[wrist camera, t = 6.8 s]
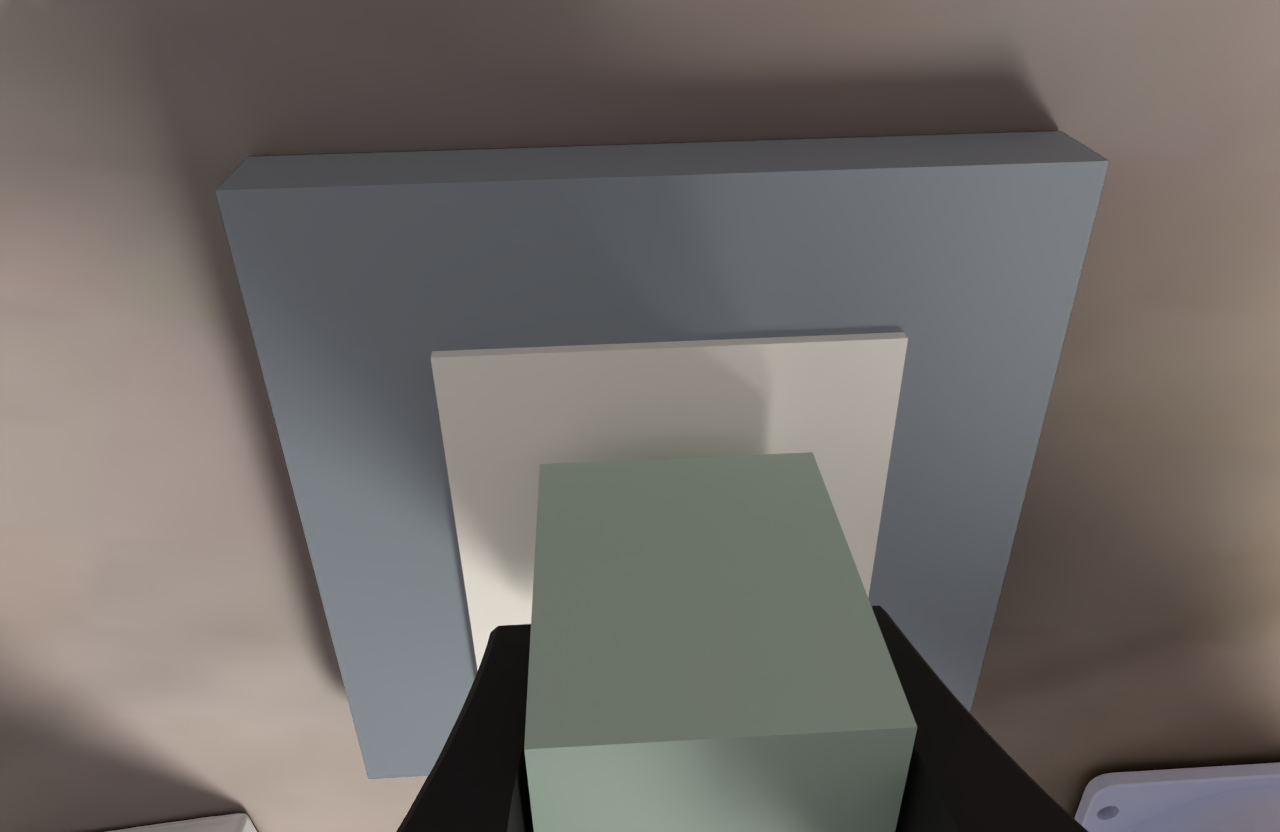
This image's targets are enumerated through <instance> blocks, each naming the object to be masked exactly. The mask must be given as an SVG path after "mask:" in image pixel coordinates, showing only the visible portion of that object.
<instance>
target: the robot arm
mask: <svg viewBox="0 0 1280 832" xmlns="http://www.w3.org/2000/svg"><path fill="white" fill-rule="evenodd" d="M871 607H872V609H873V612H874V615H875V617H876V620H877V622H878V625H879V628H880V630H881V633H882V636H883V638H884V641H885V643H886V646H887V649H888V651H889V654H890V657H891V659H892V662H893V664H894V667H895V670H896V672H897V675H898V678H899V680H900V683H901V685H902V688H903V691H904V693H905V696H906V699H907V701H908V704H909V706H910V709H911V712H912V714H913V717H914V720H915V722H916V725H917V731H916V736H915V741H914V746H913V750H912V755H911V760H910V764H909V769H908V774H907V778H906V783H905V788H904V792H903V797H902V802H901V806H900V811H899V816H898V820H897V825H896V830H895V832H1280V762H1277V763H1261V764H1244V765H1228V766H1212V767H1196V768H1179V769H1163V770H1147V771H1131V772H1115V773H1106V774H1101V775H1099V776H1097V777H1095V778H1094V779H1092V780H1091V781H1090V782H1089V783H1088V785H1087V786H1086V788H1085V791H1084V793H1083V796H1082V799H1081V801H1080V804H1079V807H1078V810H1077V812H1076V815H1075V818H1073V817H1072V816H1070V815H1069V814H1068V813H1067V812H1066V811H1065V810H1064V809H1063V808H1062V807H1061V806H1060V805H1059V804H1058V803H1057V802H1055V801H1054V800H1053V799H1052V798H1051V797H1050V796H1049V795H1048V794H1047V793H1046V792H1045V791H1044V790H1043V789H1042V788H1041V787H1040V786H1039V785H1038V784H1037V783H1036V782H1035V781H1034V780H1033V779H1032V778H1031V777H1030V776H1029V775H1028V774H1027V773H1026V772H1025V771H1024V770H1023V769H1022V768H1021V767H1020V766H1019V765H1018V764H1017V763H1016V762H1015V761H1014V760H1013V759H1012V758H1011V757H1010V756H1009V755H1008V754H1007V753H1006V752H1005V751H1004V750H1003V749H1002V748H1001V747H1000V745H999V744H998V743H997V742H996V741H995V740H994V739H993V738H992V737H991V736H990V735H989V734H988V733H987V732H986V730H985V729H984V728H983V727H982V726H981V725H980V724H979V723H978V721H977V720H976V719H975V718H974V717H973V716H972V715H971V714H970V713H969V711H968V710H967V709H966V708H965V707H964V706H963V705H962V704H961V703H960V701H959V700H958V699H957V698H956V697H955V696H954V695H953V693H952V692H951V691H950V690H949V689H948V688H947V686H946V685H945V684H944V683H943V682H942V680H941V679H940V678H939V677H938V676H937V674H936V673H935V672H934V671H933V670H932V668H931V667H930V666H929V665H928V664H927V662H926V661H925V660H924V659H923V657H922V656H921V655H920V654H919V653H918V651H917V650H916V649H915V648H914V646H913V645H912V644H911V643H910V641H909V640H908V639H907V637H906V636H905V635H904V634H903V632H902V631H901V630H900V629H899V627H898V626H897V625H896V623H895V622H894V621H893V620H892V618H891V617H890V616H889V614H888V613H887V612H886V611H885V610H884V609H883V608H882V607H881V606H880V605H879V606H871ZM530 634H531V624H521V625H503V626H497V627H496V628H495V629H494V630H493V631H492V632H490V636H489V639H488V643H487V646H486V649H485V652H484V655H483V658H482V661H481V664H480V666H479V669H478V672H477V674H476V677H475V679H474V682H473V684H472V687H471V689H470V691H469V694H468V696H467V698H466V700H465V703H464V705H463V707H462V710H461V712H460V714H459V716H458V718H457V720H456V722H455V724H454V726H453V728H452V730H451V733H450V735H449V737H448V739H447V741H446V743H445V745H444V747H443V749H442V751H441V753H440V755H439V757H438V759H437V761H436V763H435V765H434V767H433V769H432V770H431V772H430V774H429V776H428V777H427V779H426V781H425V783H424V785H423V786H422V788H421V790H420V792H419V794H418V795H417V797H416V799H415V801H414V803H413V804H412V806H411V808H410V810H409V812H408V813H407V815H406V817H405V818H404V820H403V822H402V823H401V825H400V827H399V828H398V830H397V832H534V829H533V821H532V812H531V804H530V795H529V787H528V778H527V770H526V761H525V753H524V743H525V725H526V706H527V688H528V670H529V652H530Z"/></svg>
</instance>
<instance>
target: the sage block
mask: <svg viewBox="0 0 1280 832" xmlns="http://www.w3.org/2000/svg"><path fill="white" fill-rule="evenodd" d="M916 731H917V725H916V722H915V720H914V717H913V714H912V712H911V709H910V706H909V704H908V701H907V699H906V696H905V693H904V691H903V688H902V685H901V683H900V680H899V678H898V675H897V672H896V670H895V667H894V664H893V662H892V659H891V657H890V654H889V651H888V649H887V646H886V643H885V641H884V638H883V636H882V633H881V630H880V628H879V625H878V622H877V620H876V617H875V615H874V612H873V609H872V607H871V604H870V601H869V599H868V596H867V594H866V591H865V588H864V586H863V583H862V580H861V578H860V575H859V573H858V570H857V567H856V565H855V562H854V559H853V557H852V554H851V552H850V549H849V546H848V544H847V541H846V538H845V536H844V533H843V531H842V528H841V525H840V523H839V520H838V517H837V515H836V512H835V510H834V507H833V504H832V502H831V499H830V496H829V494H828V491H827V489H826V486H825V483H824V481H823V478H822V475H821V473H820V470H819V468H818V465H817V462H816V460H815V457H814V454H813V452H807V453H784V454H761V455H739V456H716V457H693V458H670V459H647V460H624V461H601V462H579V463H556V464H540V470H539V488H538V506H537V524H536V543H535V561H534V579H533V597H532V615H531V634H530V652H529V670H528V688H527V706H526V725H525V743H524V753H525V761H526V770H527V778H528V787H529V795H530V804H531V812H532V821H533V829H534V832H895V830H896V825H897V820H898V816H899V811H900V806H901V802H902V797H903V792H904V788H905V783H906V778H907V774H908V769H909V764H910V760H911V755H912V750H913V746H914V741H915V736H916Z"/></svg>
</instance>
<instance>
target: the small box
mask: <svg viewBox="0 0 1280 832" xmlns="http://www.w3.org/2000/svg"><path fill="white" fill-rule="evenodd" d="M106 832H257V831H256V829H255V827H254V826H253V824H252V822H251V820H250V818H249V817H248V816H247V815H246V814H241V813H237V814H229V815H222V816H212V817H204V818H197V819H191V820H184V821H177V822H169V823H161V824H155V825H148V826H141V827H134V828H128V829H121V830H114V831H106Z"/></svg>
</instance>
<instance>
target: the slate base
mask: <svg viewBox="0 0 1280 832" xmlns="http://www.w3.org/2000/svg"><path fill="white" fill-rule="evenodd" d="M1108 164H1109V160H1107V159H1105V158H1104V157H1102V156H1101V155H1099V154H1097V153H1096V152H1094V151H1093V150H1091V149H1089V148H1088V147H1086V146H1085V145H1083V144H1081V143H1080V142H1078V141H1077V140H1075V139H1073V138H1072V137H1070V136H1069V135H1067V134H1065V133H1064V132H1062V131H1042V132H1010V133H979V134H947V135H916V136H884V137H853V138H821V139H790V140H758V141H727V142H695V143H664V144H632V145H601V146H569V147H538V148H506V149H475V150H443V151H412V152H380V153H349V154H317V155H286V156H254V157H248V158H247V159H246V160H245V161H244V162H243V163H242V164H241V165H240V166H239V167H238V168H237V169H236V170H235V171H234V172H233V173H232V174H231V175H230V176H229V177H228V178H227V179H226V180H225V181H224V182H223V183H222V184H221V185H220V186H219V187H218V188H217V189H216V190H215V193H216V196H217V200H218V204H219V208H220V212H221V216H222V219H223V223H224V227H225V231H226V235H227V239H228V242H229V246H230V250H231V254H232V258H233V262H234V266H235V269H236V273H237V277H238V281H239V285H240V289H241V292H242V296H243V300H244V304H245V308H246V312H247V315H248V319H249V323H250V327H251V331H252V335H253V338H254V342H255V346H256V350H257V354H258V358H259V361H260V365H261V369H262V373H263V377H264V381H265V384H266V388H267V392H268V396H269V400H270V404H271V407H272V411H273V415H274V419H275V423H276V427H277V430H278V434H279V438H280V442H281V446H282V450H283V453H284V457H285V461H286V465H287V469H288V473H289V476H290V480H291V484H292V488H293V492H294V496H295V499H296V503H297V507H298V511H299V515H300V519H301V522H302V526H303V530H304V534H305V538H306V542H307V545H308V549H309V553H310V557H311V561H312V565H313V569H314V572H315V576H316V580H317V584H318V588H319V592H320V595H321V599H322V603H323V607H324V611H325V615H326V618H327V622H328V626H329V630H330V634H331V638H332V641H333V645H334V649H335V653H336V657H337V661H338V664H339V668H340V672H341V676H342V680H343V684H344V687H345V691H346V695H347V699H348V703H349V707H350V710H351V714H352V718H353V722H354V726H355V730H356V733H357V737H358V741H359V745H360V749H361V753H362V756H363V760H364V764H365V768H366V772H367V776H368V779H379V778H396V777H412V776H429V774H430V772H431V770H432V769H433V767H434V765H435V763H436V761H437V759H438V757H439V755H440V753H441V751H442V749H443V747H444V745H445V743H446V741H447V739H448V737H449V735H450V733H451V730H452V728H453V726H454V724H455V722H456V720H457V718H458V716H459V714H460V712H461V710H462V707H463V705H464V703H465V700H466V698H467V696H468V694H469V691H470V689H471V687H472V684H473V682H474V679H475V677H476V674H477V672H478V669H479V666H480V664H481V661H482V658H483V655H484V652H485V649H486V646H487V643H488V639H489V636H490V632H492V631H493V630H494V629H495V628H496V627H497V626H503V625H521V624H531V615H532V597H533V579H534V561H535V543H536V524H537V506H538V488H539V470H540V464H556V463H579V462H601V461H624V460H647V459H670V458H693V457H716V456H739V455H761V454H784V453H807V452H813V454H814V457H815V460H816V462H817V465H818V468H819V470H820V473H821V475H822V478H823V481H824V483H825V486H826V489H827V491H828V494H829V496H830V499H831V502H832V504H833V507H834V510H835V512H836V515H837V517H838V520H839V523H840V525H841V528H842V531H843V533H844V536H845V538H846V541H847V544H848V546H849V549H850V552H851V554H852V557H853V559H854V562H855V565H856V567H857V570H858V573H859V575H860V578H861V580H862V583H863V586H864V588H865V591H866V594H867V596H868V599H869V601H870V604H871V606H879V605H880V606H881V607H882V608H883V609H884V610H885V611H886V612H887V613H888V614H889V616H890V617H891V618H892V620H893V621H894V622H895V623H896V625H897V626H898V627H899V629H900V630H901V631H902V632H903V634H904V635H905V636H906V637H907V639H908V640H909V641H910V643H911V644H912V645H913V646H914V648H915V649H916V650H917V651H918V653H919V654H920V655H921V656H922V657H923V659H924V660H925V661H926V662H927V664H928V665H929V666H930V667H931V668H932V670H933V671H934V672H935V673H936V674H937V676H938V677H939V678H940V679H941V680H942V682H943V683H944V684H945V685H946V686H947V688H948V689H949V690H950V691H951V692H952V693H953V695H954V696H955V697H956V698H957V699H958V700H959V701H960V703H961V704H962V705H963V706H964V707H965V708H966V709H967V710H968V711H969V713H970V712H971V708H972V704H973V700H974V696H975V692H976V688H977V684H978V680H979V676H980V672H981V668H982V664H983V660H984V656H985V652H986V648H987V644H988V640H989V636H990V632H991V628H992V624H993V620H994V616H995V612H996V608H997V604H998V601H999V597H1000V593H1001V589H1002V585H1003V581H1004V577H1005V573H1006V569H1007V565H1008V561H1009V557H1010V553H1011V549H1012V545H1013V541H1014V537H1015V533H1016V529H1017V525H1018V521H1019V517H1020V513H1021V509H1022V505H1023V501H1024V497H1025V493H1026V489H1027V485H1028V481H1029V477H1030V473H1031V470H1032V466H1033V462H1034V458H1035V454H1036V450H1037V446H1038V442H1039V438H1040V434H1041V430H1042V426H1043V422H1044V418H1045V414H1046V410H1047V406H1048V402H1049V398H1050V394H1051V390H1052V386H1053V382H1054V378H1055V374H1056V370H1057V366H1058V362H1059V358H1060V354H1061V350H1062V346H1063V343H1064V339H1065V335H1066V331H1067V327H1068V323H1069V319H1070V315H1071V311H1072V307H1073V303H1074V299H1075V295H1076V291H1077V287H1078V283H1079V279H1080V275H1081V271H1082V267H1083V263H1084V259H1085V255H1086V251H1087V247H1088V243H1089V239H1090V235H1091V231H1092V227H1093V223H1094V219H1095V215H1096V212H1097V208H1098V204H1099V200H1100V196H1101V192H1102V188H1103V184H1104V180H1105V176H1106V172H1107V168H1108Z"/></svg>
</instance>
